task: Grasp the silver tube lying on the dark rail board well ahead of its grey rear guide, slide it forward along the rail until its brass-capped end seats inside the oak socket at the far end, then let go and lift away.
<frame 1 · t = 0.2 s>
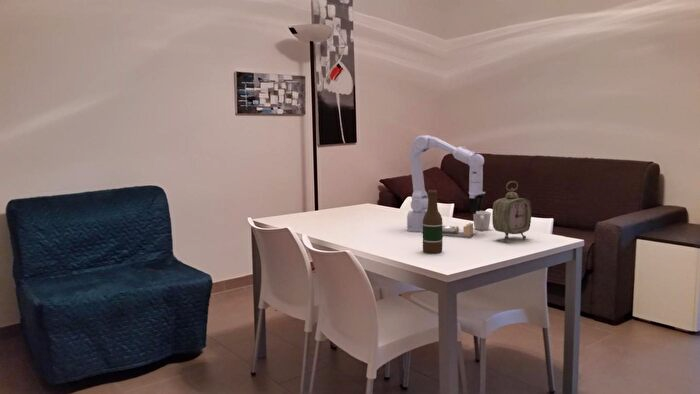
hand: (475, 212, 242), 10 cm above the table, tool pointing down, fingers open, 7 cm apart
cup: (481, 230, 253), on the table
tabletop clock: (510, 240, 230), on the table
beer bottle: (432, 252, 212), on the table
rail board: (451, 234, 244), on the table
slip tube: (445, 229, 244), point 2 cm above the table, slide at 0.0 cm
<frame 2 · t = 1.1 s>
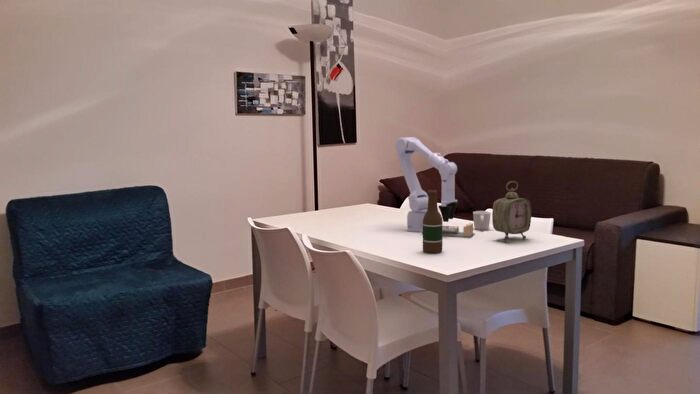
hand: (448, 220, 243), 6 cm above the table, tool pointing down, fingers open, 7 cm apart
nothing on the table moved.
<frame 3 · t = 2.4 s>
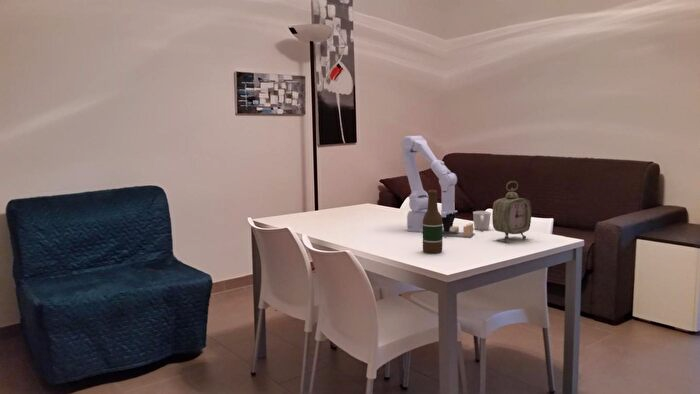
hand: (447, 230, 244), 2 cm above the table, tool pointing down, fingers closed on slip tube, 3 cm apart
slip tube: (445, 229, 244), point 2 cm above the table, slide at 0.0 cm, touching gripper
everything else where it was.
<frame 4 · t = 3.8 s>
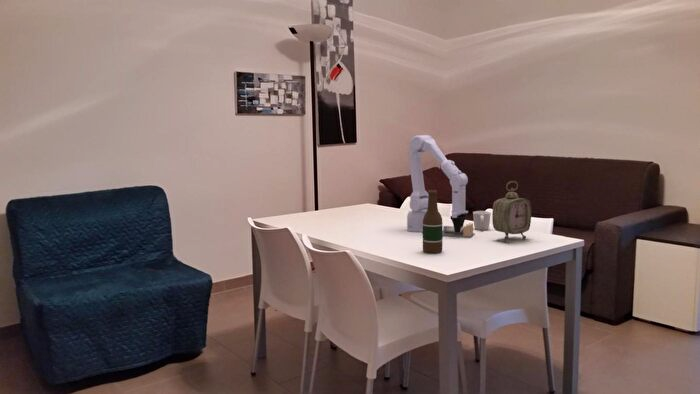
hand: (458, 231, 242), 2 cm above the table, tool pointing down, fingers closed on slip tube, 3 cm apart
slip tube: (456, 230, 242), point 2 cm above the table, slide at 4.7 cm, touching gripper
everything else where it was.
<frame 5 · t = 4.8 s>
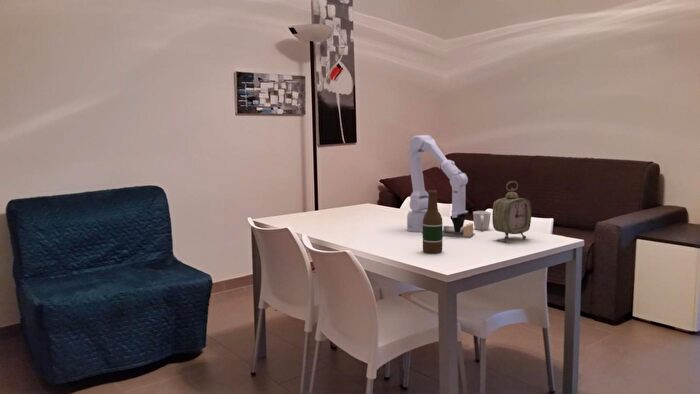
hand: (458, 231, 242), 2 cm above the table, tool pointing down, fingers closed on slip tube, 3 cm apart
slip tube: (456, 230, 242), point 2 cm above the table, slide at 4.7 cm, touching gripper
everything else where it was.
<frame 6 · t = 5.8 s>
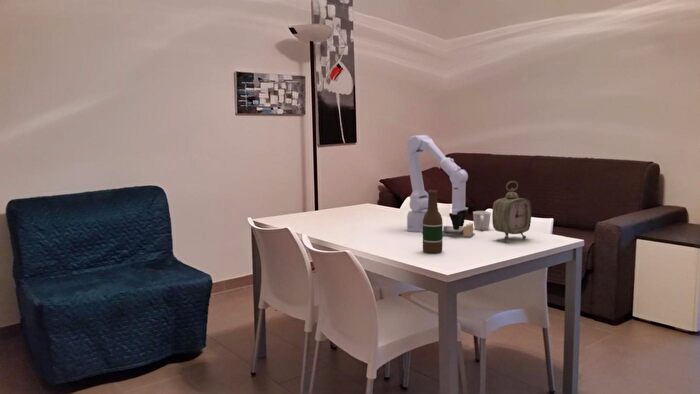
hand: (458, 228, 242), 3 cm above the table, tool pointing down, fingers open, 7 cm apart
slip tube: (456, 230, 242), point 2 cm above the table, slide at 4.7 cm
everything else where it was.
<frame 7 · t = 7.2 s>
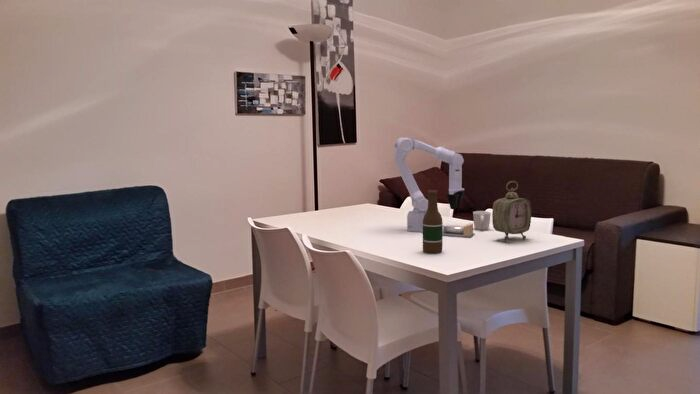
hand: (455, 208, 256), 10 cm above the table, tool pointing down, fingers open, 7 cm apart
nothing on the table moved.
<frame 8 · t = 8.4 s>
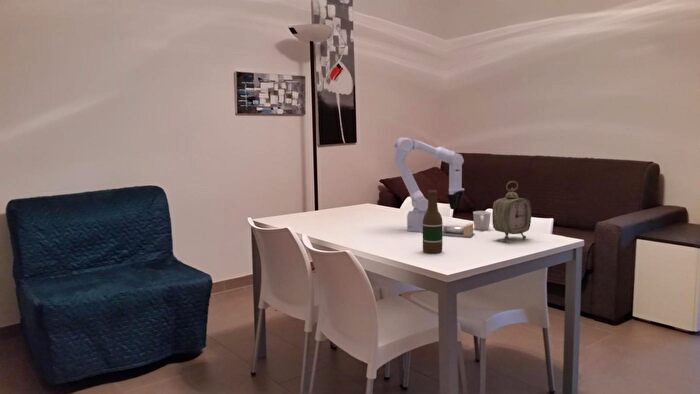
hand: (455, 208, 256), 10 cm above the table, tool pointing down, fingers open, 7 cm apart
nothing on the table moved.
at the end: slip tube slide at 4.7 cm; the gripper is holding nothing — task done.
